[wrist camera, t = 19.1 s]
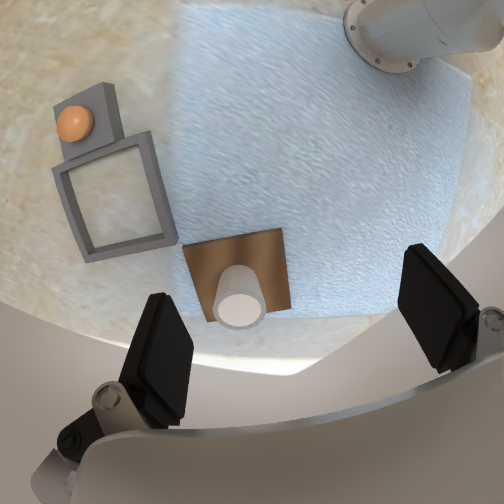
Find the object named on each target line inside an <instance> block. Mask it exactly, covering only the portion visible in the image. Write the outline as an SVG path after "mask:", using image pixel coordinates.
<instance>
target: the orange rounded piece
mask: <svg viewBox="0 0 504 504" xmlns="http://www.w3.org/2000/svg"><path fill="white" fill-rule="evenodd" d="M92 126H93V115H92V112H91V111H90V109H89V108H87V107H85V106H69V107H67V108H65V109H64V110H63V111H62V112H61V114H60V115H59V117H58V120H57V126H56V127H57V133H58V135H59V137H60V138H61V139H62V140H63V141H65V142H74V141H78V140H81V139H83V138H85V137H86V136H87V135H88V134H89V133H90V131H91V129H92Z"/></svg>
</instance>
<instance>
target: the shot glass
mask: <svg viewBox="0 0 504 504" xmlns="http://www.w3.org/2000/svg"><path fill="white" fill-rule="evenodd" d="M213 313H214V317H215V318H216V320H217V321H218V322H219V323H220V324H221V325H223V326H225V327H227V328H230V329H235V330H243V329H249V328H251V327H254V326H256V325H257V324H258V323H260V322H261V321H262V320H263V318H264V316H265V314H266V304H265V301H264V297H263V294H262V291H261V288H260V285H259V281H258V278H257V275H256V274H255V272H254V271H253V270H252V269H250V268H249V267H247V266H243V265H233V266H231V267H229V268H227V269H225V270H224V271H223V273H222V274H221V277H220V280H219V284H218V289H217V293H216V297H215V302H214V306H213Z"/></svg>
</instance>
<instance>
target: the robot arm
mask: <svg viewBox="0 0 504 504" xmlns="http://www.w3.org/2000/svg"><path fill="white" fill-rule="evenodd" d="M344 26H345V31H346V34H347V36H348V39H349V41H350V43H351V44H352V46H353V47H354V49H355V50H356V51H357V53H358V54H359V55H360V56H361V57H362V58H363V59H364V60H365V61H367V62H368V63H369V64H371V65H372V66H374V67H376V68H378V69H380V70H382V71H385V72H389V73H404V72H408V71H410V70H412V69H414V68H415V67H416V66H417V65H418V63H419V62H420V60H421V59H422V58H428V57H435V56H443V55H451V54H461V53H473V52H485V51H489V50H492V49H494V48H495V47H497V46H498V44H499V43H500V42H501V40H502V39H503V37H504V0H356V1H354V2H353V3H352V4H351V5H350V6H349V7H348V8H347V10H346V13H345V16H344ZM351 29H352V30H351ZM375 61H376V62H375ZM478 307H479V304H478V303H477V302H476V300H475V299H474V298H473V297H472V296H471V294H470V293H469V292H468V291H467V290H466V289H465V288H464V286H463V285H462V284H461V283H460V282H459V281H458V280H457V279H456V278H455V276H454V275H453V274H452V273H451V272H450V271H449V270H448V269H447V268H446V267H445V266H444V265H443V264H442V263H441V262H440V260H439V259H438V258H437V257H436V256H435V255H434V254H433V253H432V252H431V251H430V250H429V249H428V248H427V247H426V246H425V245H424V244H422V243H419V244H415V245H410V246H409V247H408V249H407V250H406V251H405V253H404V261H403V269H402V276H401V283H400V290H399V296H398V308H399V310H400V312H401V313H402V315H403V317H404V318H405V320H406V322H407V323H408V325H409V327H410V328H411V330H412V332H413V334H414V335H415V337H416V339H417V341H418V342H419V344H420V346H421V348H422V350H423V351H424V353H425V355H426V357H427V359H428V361H429V363H430V364H431V366H432V367H433V368H436V370H437V372H438V373H439V374H441V373H443V372H445V371H447V370H449V369H450V370H451V372H450V373H448V374H446V375H443V376H441V377H439V378H436V379H434V380H432V381H429V382H427V383H424V384H422V385H419V386H417V387H414V388H412V389H409V390H406V391H404V392H401V393H398V394H395V395H392V396H389V397H386V398H383V399H380V400H376V401H373V402H370V403H366V404H363V405H359V406H356V407H352V408H348V409H344V410H340V411H336V412H332V413H327V414H323V415H318V416H313V417H308V418H302V419H297V420H291V421H284V422H277V423H270V424H262V425H253V426H242V427H230V428H209V429H168V426H169V425H170V426H179V425H180V419H182V418H183V417H184V414H185V407H186V399H187V392H188V384H189V377H190V370H191V363H192V357H193V350H194V345H193V341H192V339H191V337H190V335H189V333H188V331H187V329H186V327H185V325H184V323H183V321H182V319H181V317H180V315H179V313H178V311H177V309H176V306H175V304H174V302H173V300H172V298H171V296H170V295H166V294H165V293H164V292H162V293H156V294H151V295H150V296H149V298H148V300H147V303H146V305H145V308H144V310H143V313H142V316H141V318H140V321H139V323H138V326H137V329H136V331H135V334H134V337H133V339H132V342H131V345H130V348H129V350H128V353H127V356H126V359H125V362H124V365H123V368H122V371H121V374H120V377H119V380H118V382H117V381H109V382H106V383H104V384H102V385H101V386H99V387H98V388H97V389H96V391H95V392H94V394H93V397H92V407H93V408H92V409H91V410H89V411H88V412H86V413H85V414H84V415H82V416H81V417H79V418H78V419H77V420H75V421H74V422H72V423H71V424H70V425H68V426H66V427H65V428H64V429H63V430H62V431H61V432H60V434H59V436H58V439H57V447H58V449H57V450H56V449H53V450H52V451H51V452H50V453H49V455H48V456H47V457H46V458H45V460H44V461H43V462H42V463H41V465H40V466H39V467H38V468H37V470H36V471H35V472H34V473H33V475H32V477H31V487H32V490H33V491H34V493H35V494H36V496H37V497H38V499H39V500H40V502H41V503H42V504H504V311H502V310H501V309H499V308H497V307H486V308H484V309H483V310H482V311H480V310H479V309H478Z"/></svg>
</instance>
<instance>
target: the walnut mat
mask: <svg viewBox="0 0 504 504" xmlns="http://www.w3.org/2000/svg"><path fill="white" fill-rule="evenodd" d="M182 249H183V252H184V255H185V259H186V262H187V265H188V268H189V271H190V274H191V277H192V280H193V283H194V286H195V289H196V292H197V295H198V298H199V301H200V303H201V306H202V309H203V312H204V315H205V317H206V320H207V322H213V321H217V320H216V318H215V317H214V313H213V306H214V302H215V297H216V293H217V289H218V284H219V280H220V277H221V274H222V273H223V271H224V270H225V269H227V268H229V267H231V266H233V265H243V266H247V267H249V268H250V269H252V270H253V271H254V272H255V274H256V275H257V278H258V281H259V285H260V288H261V291H262V294H263V297H264V301H265V304H266V313H270V312H275V311H281V310H286V309H291V300H290V291H289V283H288V274H287V266H286V258H285V250H284V242H283V234H282V229H281V228H277V229H271V230H265V231H260V232H254V233H249V234H243V235H237V236H232V237H226V238H221V239H216V240H210V241H205V242H200V243H194V244H189V245H184V246H183V247H182Z"/></svg>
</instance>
